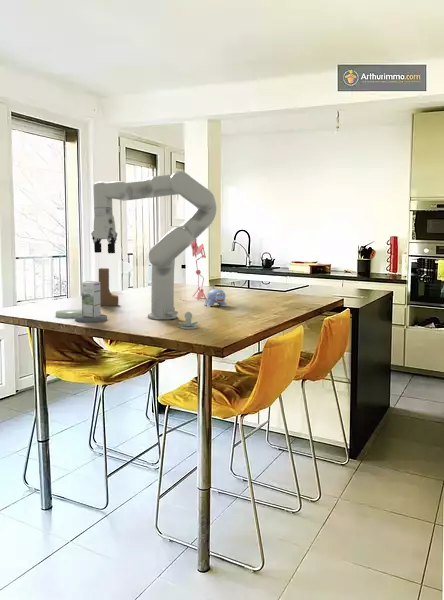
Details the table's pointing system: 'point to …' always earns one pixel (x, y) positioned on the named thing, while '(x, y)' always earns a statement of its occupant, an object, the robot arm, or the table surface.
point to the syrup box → (91, 299)
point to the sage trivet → (68, 313)
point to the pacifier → (188, 322)
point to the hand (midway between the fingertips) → (104, 252)
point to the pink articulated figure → (198, 250)
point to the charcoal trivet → (90, 319)
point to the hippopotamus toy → (215, 297)
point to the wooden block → (106, 289)
